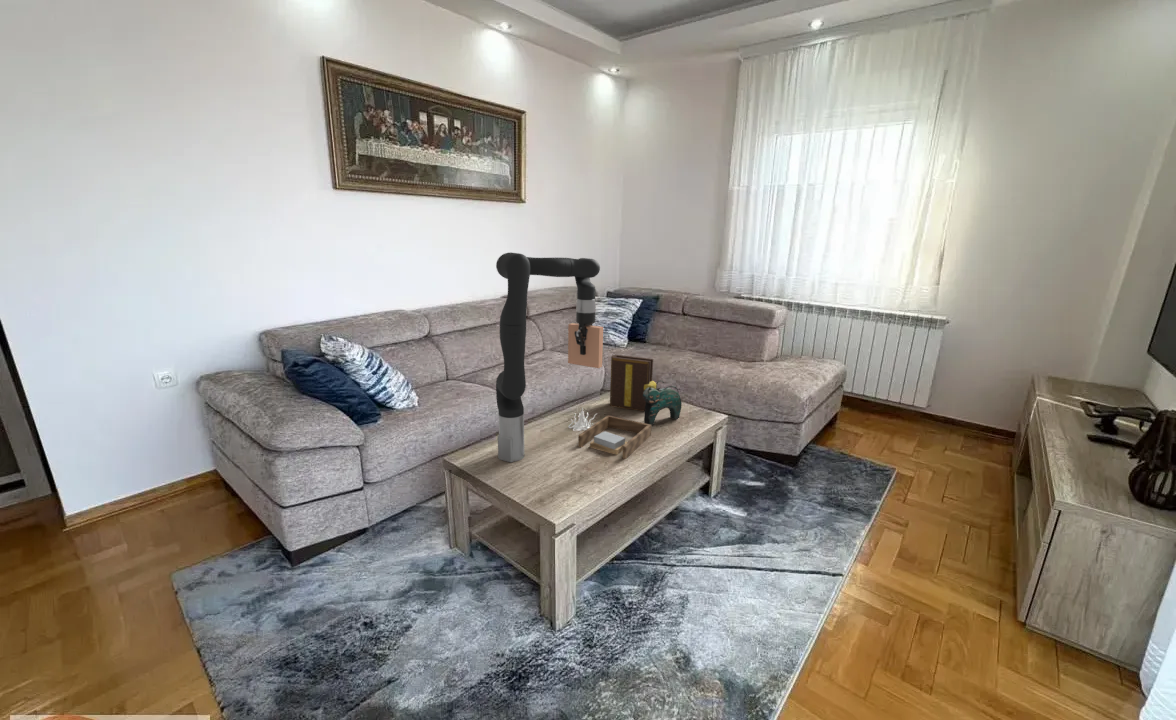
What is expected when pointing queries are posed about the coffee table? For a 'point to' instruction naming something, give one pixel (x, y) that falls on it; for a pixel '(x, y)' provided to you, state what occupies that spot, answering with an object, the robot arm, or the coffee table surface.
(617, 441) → the offcut top
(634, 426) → the wooden tray
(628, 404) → the book
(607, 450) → the offcut bottom
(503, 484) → the coffee table surface
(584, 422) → the white tentacle figurine
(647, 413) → the ceramic cat
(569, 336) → the salmon orange rectangular slab
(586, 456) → the coffee table surface
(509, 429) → the robot arm
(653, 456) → the coffee table surface
